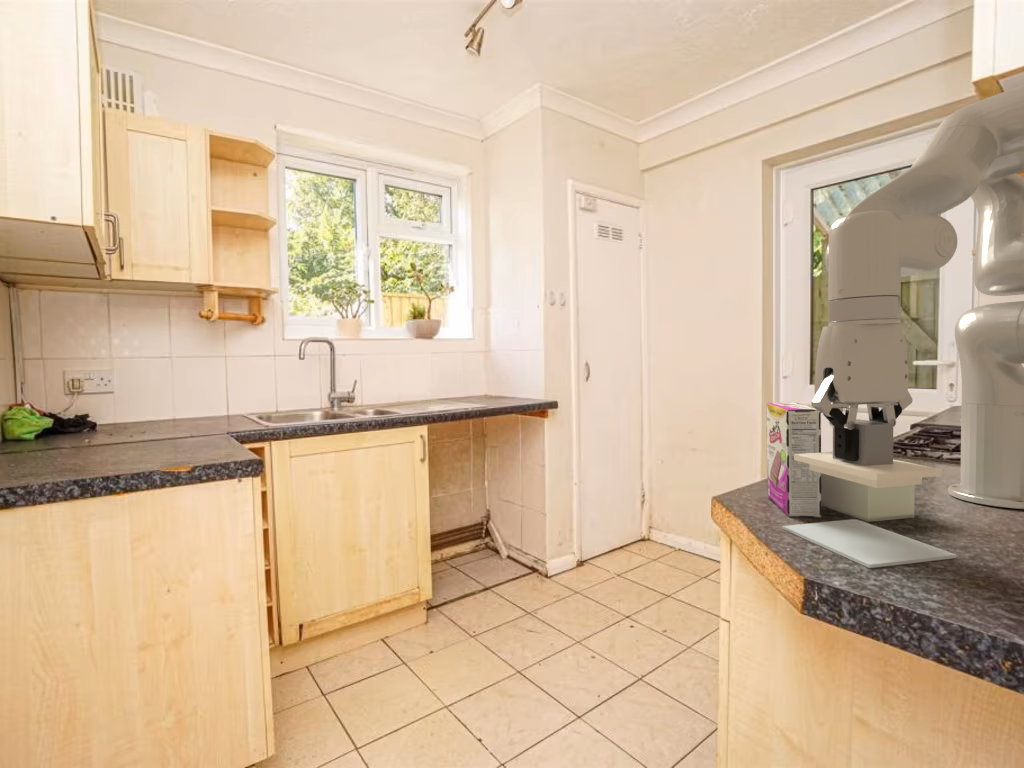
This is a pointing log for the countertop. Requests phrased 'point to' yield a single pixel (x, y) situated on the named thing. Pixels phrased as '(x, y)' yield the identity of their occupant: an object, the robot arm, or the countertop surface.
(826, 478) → the tub
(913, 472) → the lid
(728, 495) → the countertop surface
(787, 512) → the candy bar box
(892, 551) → the board
